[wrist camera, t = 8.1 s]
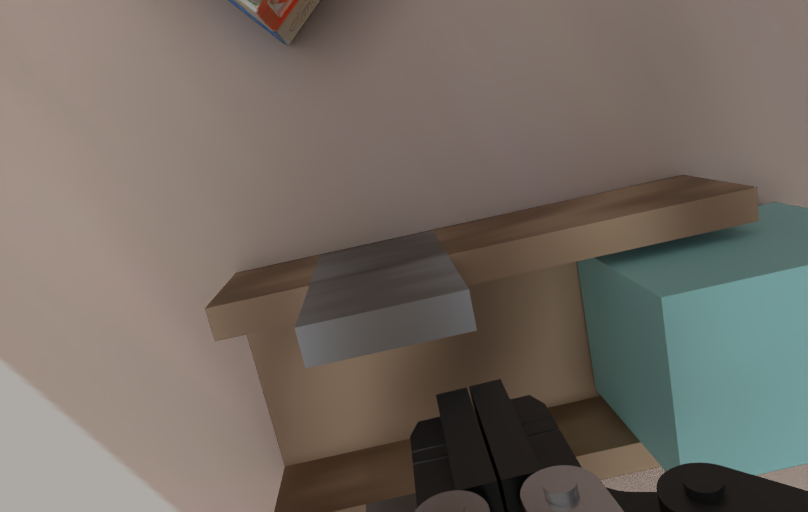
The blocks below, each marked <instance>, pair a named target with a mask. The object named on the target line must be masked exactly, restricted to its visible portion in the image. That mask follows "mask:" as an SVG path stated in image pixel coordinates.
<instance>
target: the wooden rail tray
mask: <svg viewBox="0 0 808 512" xmlns="http://www.w3.org/2000/svg"><path fill="white" fill-rule="evenodd" d="M757 221H759V213H758V198H757V187H753V186H747V185H740V184H734V183H728V182H722V181H716V180H710V179H704V178H698V177H692V176H686V175H681V176H676V177H672V178H667V179H662V180H658V181H653V182H649V183H644V184H640V185H635V186H631V187H626V188H621V189H617V190H612V191H608V192H603V193H599V194H594V195H590V196H585V197H580V198H576V199H571V200H567V201H562V202H558V203H553V204H549V205H544V206H539V207H535V208H530V209H526V210H521V211H517V212H512V213H508V214H503V215H498V216H494V217H489V218H485V219H480V220H476V221H471V222H467V223H462V224H457V225H453V226H448V227H444V228H439V229H435V230H430V231H426V232H421V233H416V234H412V235H407V236H403V237H398V238H394V239H389V240H385V241H380V242H375V243H371V244H366V245H362V246H357V247H353V248H348V249H344V250H339V251H334V252H330V253H325V254H321V255H316V256H312V257H307V258H303V259H298V260H293V261H289V262H284V263H280V264H275V265H271V266H266V267H262V268H257V269H252V270H248V271H243V272H239V273H235V275H234V276H233V277H232V278H231V279H230V280H229V281H228V283H227V284H226V285H225V286H224V287H223V288H222V290H221V291H220V292H219V293H218V294H217V295H216V296H215V298H214V299H213V300H212V301H211V302H210V303H209V304H208V306H207V307H206V308H205V311H206V314H207V317H208V321H209V324H210V327H211V331H212V334H213V337H214V340H215V341H219V340H223V339H228V338H232V337H237V336H241V335H246V334H247V337H248V341H249V344H250V348H251V351H252V355H253V358H254V362H255V365H256V368H257V372H258V375H259V379H260V382H261V386H262V389H263V393H264V396H265V399H266V403H267V406H268V410H269V413H270V417H271V420H272V424H273V427H274V430H275V434H276V437H277V441H278V444H279V448H280V451H281V455H282V458H283V461H284V465H285V469H284V473H283V477H282V481H281V486H280V490H279V494H278V498H277V502H276V507H275V511H274V512H415V510H416V509H417V502H416V491H415V481H414V471H413V461H412V451H411V441H410V436H411V434H412V432H413V430H414V428H415V426H416V425H417V423H418V422H419V421H423V420H427V419H431V418H435V417H440V413H439V408H438V403H437V398H436V394H440V393H445V392H449V391H453V390H457V389H461V388H465V387H467V390H468V393H469V396H470V399H471V402H472V398H471V394H470V389H469V386H473V385H477V384H482V383H486V382H490V381H494V380H498V379H501V381H502V383H503V385H504V388H505V390H506V392H507V394H508V396H509V398H510V399H514V398H518V397H522V396H526V395H531V396H532V397H534V398H536V399H537V400H539V401H541V402H543V403H544V404H545V405H546V406H547V408H548V410H549V412H550V413H551V415H552V417H553V420H555V422H556V424H557V425H558V427H559V430H560V431H561V432H562V434H563V436H564V438H565V439H566V441H567V443H568V445H569V446H570V448H571V450H572V451H573V453H574V455H575V457H576V458H577V460H578V462H579V464H580V465H581V467H582V468H584V469H586V470H588V471H590V472H592V473H593V474H595V475H596V476H597V477H598V478H599V479H600V480H603V479H607V478H612V477H616V476H621V475H625V474H630V473H634V472H638V471H643V470H647V469H652V468H656V467H660V466H661V465H660V464H659V463H658V462H657V460H656V459H655V458H654V457H653V456H652V455H651V453H650V452H649V451H648V450H647V449H646V448H645V446H644V445H643V444H642V443H641V442H640V441H639V439H638V438H637V437H636V436H635V435H634V434H633V432H632V431H631V430H630V429H629V428H628V427H627V425H626V424H625V423H624V422H623V421H622V420H621V418H620V417H619V416H618V415H617V414H616V413H615V411H614V410H613V409H612V408H611V407H610V406H609V404H608V403H607V402H606V401H605V400H604V399H603V397H602V396H601V395H600V394H599V393H598V392H597V390H596V388H595V381H594V374H593V367H592V360H591V354H590V347H589V340H588V333H587V326H586V319H585V312H584V306H583V299H582V292H581V285H580V278H579V271H578V265H577V261H581V260H585V259H590V258H594V257H599V256H603V255H608V254H613V253H617V252H622V251H626V250H631V249H635V248H640V247H644V246H649V245H653V244H658V243H662V242H667V241H671V240H676V239H680V238H685V237H689V236H694V235H699V234H703V233H708V232H712V231H717V230H721V229H726V228H730V227H735V226H739V225H744V224H748V223H753V222H757ZM472 405H473V402H472ZM473 408H474V407H473Z"/></svg>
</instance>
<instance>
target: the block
mask: <svg viewBox="0 0 808 512" xmlns="http://www.w3.org/2000/svg"><path fill="white" fill-rule="evenodd" d="M758 213H759V221H757V222H753V223H748V224H744V225H739V226H735V227H730V228H726V229H721V230H717V231H712V232H708V233H703V234H699V235H694V236H689V237H685V238H680V239H676V240H671V241H667V242H662V243H658V244H653V245H649V246H644V247H640V248H635V249H631V250H626V251H622V252H617V253H613V254H608V255H603V256H599V257H594V258H590V259H585V260H581V261H577V265H578V271H579V278H580V285H581V292H582V299H583V306H584V312H585V319H586V326H587V333H588V340H589V347H590V354H591V360H592V367H593V374H594V381H595V388H596V390H597V392H598V393H599V394H600V395H601V396H602V397H603V399H604V400H605V401H606V402H607V403H608V404H609V406H610V407H611V408H612V409H613V410H614V411H615V413H616V414H617V415H618V416H619V417H620V418H621V420H622V421H623V422H624V423H625V424H626V425H627V427H628V428H629V429H630V430H631V431H632V432H633V434H634V435H635V436H636V437H637V438H638V439H639V441H640V442H641V443H642V444H643V445H644V446H645V448H646V449H647V450H648V451H649V452H650V453H651V455H652V456H653V457H654V458H655V459H656V460H657V462H658V463H659V464H660V465H661V466H662V467H663V469H664V470H665V471H668V470H669V469H671V468H673V467H676V466H679V465H682V464H687V463H711V464H717V465H721V466H725V467H728V468H731V469H735V470H738V471H741V472H745V473H748V474H751V475H759V474H763V473H768V472H772V471H776V470H781V469H785V468H790V467H794V466H798V465H803V464H807V463H808V208H803V207H798V206H793V205H788V204H782V203H777V202H773V203H769V204H764V205H759V206H758Z"/></svg>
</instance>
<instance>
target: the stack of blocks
mask: <svg viewBox="0 0 808 512" xmlns="http://www.w3.org/2000/svg"><path fill="white" fill-rule="evenodd" d="M229 1H230V2H231V3H233V4H234V5H235V6H236V7H238V8H239V9H240V10H242V11H243V12H244V13H245V14H247V15H248V16H249V17H250V18H252V19H253V20H254V21H255V22H257V23H258V24H259V25H261V26H262V27H263V28H265V29H266V30H267V31H268V32H270V33H271V34H272V35H274V36H275V37H276V38H277V39H279V40H280V41H281V42H282V43H284V44H286V45H289V44H290V43H291V42H292V40H293V39H294V37H295V36H296V34H297V33H298V31H299V30H300V28H301V27H302V26H303V24H304V23H305V21H306V20H307V19H308V17H309V16H310V14H311V13H312V11H313V10H314V9H315V7H316V6H317V4H318V3H319V1H320V0H229Z"/></svg>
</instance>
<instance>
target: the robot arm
mask: <svg viewBox="0 0 808 512" xmlns="http://www.w3.org/2000/svg"><path fill="white" fill-rule="evenodd" d="M469 389H470V394H471V398H472V402H473V405H472V402H471V399H470V396H469V393H468V390H467V387H465V388H461V389H457V390H453V391H449V392H445V393H440V394H436V398H437V403H438V408H439V413H440V417H435V418H431V419H427V420H423V421H419V422H418V423H417V425H416V426H415V428H414V430H413V432H412V434H411V436H410V441H411V451H412V461H413V471H414V481H415V491H416V502H417V509H416V510H415V512H808V491H805V490H802V489H798V488H795V487H792V486H788V485H785V484H782V483H778V482H775V481H771V480H768V479H765V478H761V477H758V476H755V475H751V474H748V473H745V472H741V471H738V470H735V469H731V468H728V467H725V466H721V465H717V464H711V463H687V464H682V465H679V466H676V467H673V468H671V469H669V470H668V471H666V472H665V473H664V474H663V475H661V477H660V478H659V480H658V483H657V492H624V491H617V490H613V489H609V488H606V487H605V486H604V484H603V483H602V482H601V480H600V479H599V478H598V477H597V476H596V475H595V474H593V473H592V472H590V471H588V470H586V469H584V468H582V467H581V465H580V464H579V462H578V460H577V458H576V457H575V455H574V453H573V451H572V450H571V448H570V446H569V445H568V443H567V441H566V439H565V438H564V436H563V434H562V432H561V431H560V430H559V427H558V425H557V424H556V422H555V420H553V417H552V415H551V413H550V412H549V410H548V408H547V406H546V405H545V404H544V403H543V402H541V401H539V400H537V399H536V398H534V397H532V396H531V395H526V396H522V397H518V398H514V399H510V398H509V396H508V394H507V392H506V390H505V388H504V385H503V383H502V381H501V379H498V380H494V381H490V382H486V383H482V384H477V385H473V386H469ZM473 407H474V408H473Z"/></svg>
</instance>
